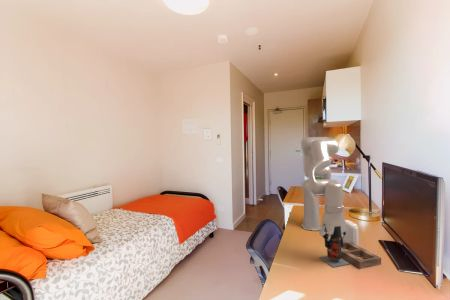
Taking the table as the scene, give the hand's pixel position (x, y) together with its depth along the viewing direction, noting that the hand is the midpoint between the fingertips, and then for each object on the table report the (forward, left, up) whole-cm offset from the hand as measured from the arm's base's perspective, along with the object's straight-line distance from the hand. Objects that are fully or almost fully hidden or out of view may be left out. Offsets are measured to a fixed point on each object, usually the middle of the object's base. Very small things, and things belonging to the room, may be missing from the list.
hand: (333, 246), depth 104 cm
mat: (0, 0, -7) cm, 7 cm away
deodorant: (0, 0, -5) cm, 5 cm away
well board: (0, +12, -7) cm, 14 cm away
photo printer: (-13, +21, -7) cm, 26 cm away
